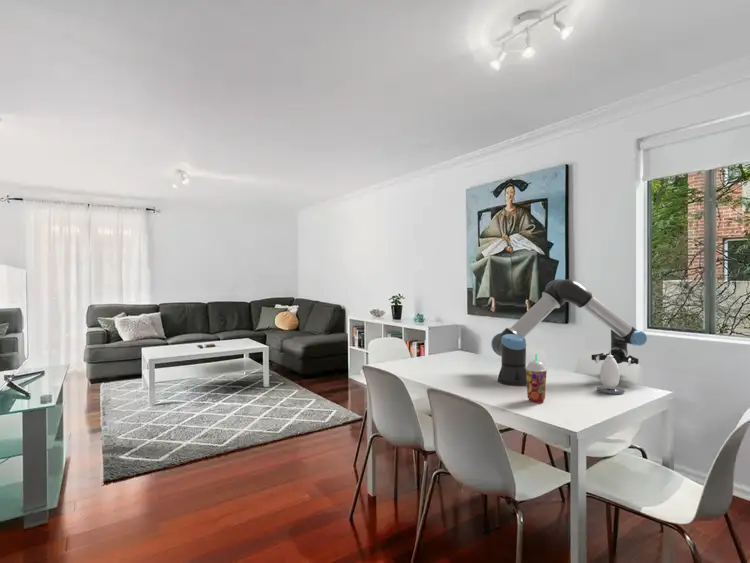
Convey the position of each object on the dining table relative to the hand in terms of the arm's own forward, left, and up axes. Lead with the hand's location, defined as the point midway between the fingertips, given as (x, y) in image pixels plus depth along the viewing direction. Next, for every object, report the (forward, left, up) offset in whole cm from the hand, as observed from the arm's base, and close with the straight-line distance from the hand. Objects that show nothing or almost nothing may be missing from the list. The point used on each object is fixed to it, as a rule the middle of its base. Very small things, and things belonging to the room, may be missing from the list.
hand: (612, 361), depth 204 cm
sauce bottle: (-9, -1, -11) cm, 14 cm away
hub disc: (-9, -2, -12) cm, 15 cm away
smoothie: (-49, +15, -12) cm, 53 cm away
